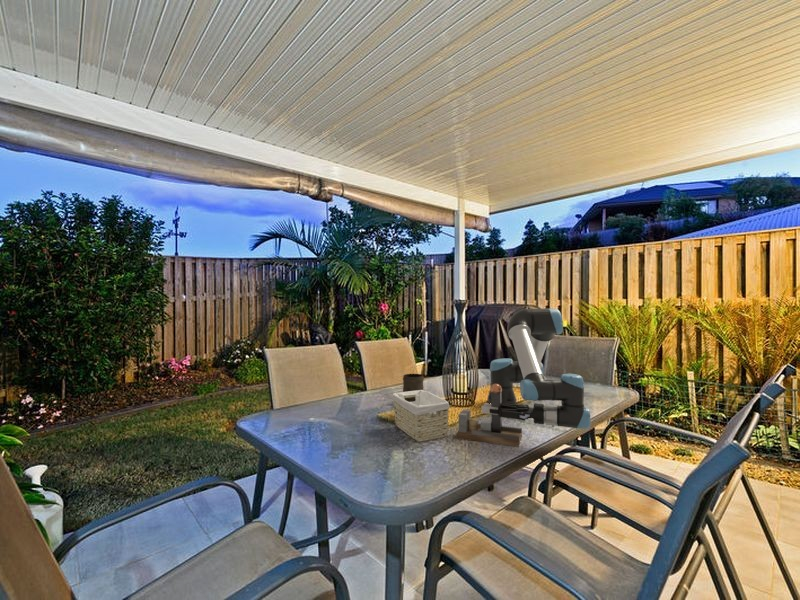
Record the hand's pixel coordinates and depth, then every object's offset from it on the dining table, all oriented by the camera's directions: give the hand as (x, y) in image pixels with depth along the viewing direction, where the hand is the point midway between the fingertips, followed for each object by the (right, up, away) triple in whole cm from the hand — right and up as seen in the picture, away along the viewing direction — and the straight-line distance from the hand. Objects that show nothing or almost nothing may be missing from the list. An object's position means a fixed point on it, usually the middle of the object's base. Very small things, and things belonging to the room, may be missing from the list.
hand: (482, 407), depth 151 cm
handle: (+3, -9, -2) cm, 10 cm away
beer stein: (-26, -12, +31) cm, 42 cm away
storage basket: (-25, -12, +7) cm, 29 cm away
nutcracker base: (+2, -11, -1) cm, 12 cm away
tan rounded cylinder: (-4, -10, +2) cm, 10 cm away
